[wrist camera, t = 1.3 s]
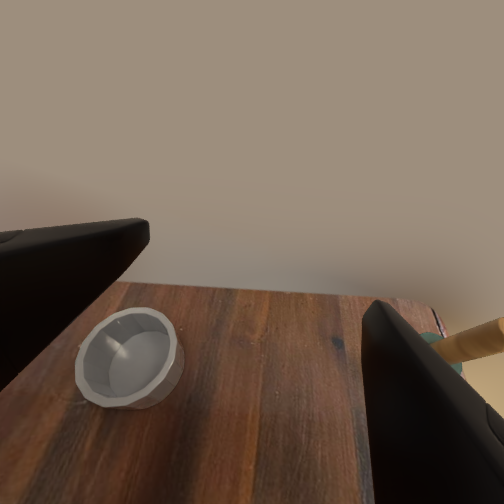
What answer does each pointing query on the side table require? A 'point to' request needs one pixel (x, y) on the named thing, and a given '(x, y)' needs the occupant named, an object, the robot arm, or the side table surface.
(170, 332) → the white cylindrical cup
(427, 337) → the brush
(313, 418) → the side table surface
